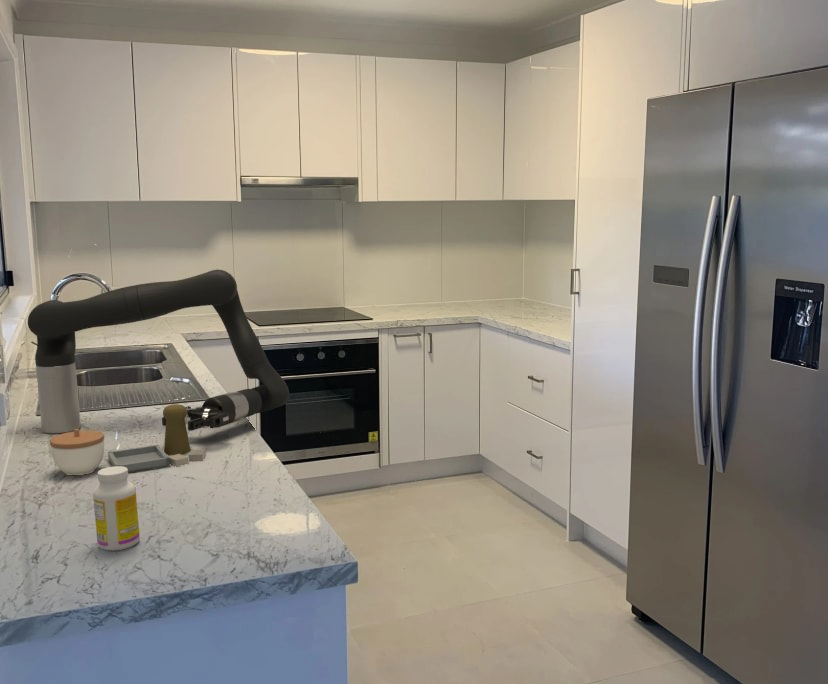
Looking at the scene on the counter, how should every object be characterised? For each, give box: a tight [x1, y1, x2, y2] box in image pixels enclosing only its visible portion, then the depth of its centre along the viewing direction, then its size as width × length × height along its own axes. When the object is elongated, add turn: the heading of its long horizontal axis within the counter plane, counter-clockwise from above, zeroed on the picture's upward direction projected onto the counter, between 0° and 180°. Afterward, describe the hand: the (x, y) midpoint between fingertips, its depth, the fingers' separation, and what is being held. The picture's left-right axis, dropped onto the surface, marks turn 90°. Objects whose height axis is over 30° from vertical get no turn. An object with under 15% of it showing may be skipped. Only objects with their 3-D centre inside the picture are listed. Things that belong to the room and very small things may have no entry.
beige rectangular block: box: [188, 448, 207, 462], centre depth 181 cm, size 4×3×2 cm
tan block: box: [167, 454, 190, 468], centre depth 178 cm, size 4×3×2 cm
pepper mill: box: [162, 403, 192, 456], centre depth 186 cm, size 6×6×11 cm
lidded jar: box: [49, 428, 105, 476], centre depth 172 cm, size 11×11×9 cm
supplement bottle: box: [92, 466, 141, 552], centre depth 134 cm, size 7×7×13 cm
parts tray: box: [107, 444, 171, 475], centre depth 178 cm, size 12×11×2 cm
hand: (175, 424), depth 186 cm, fingers open, 8 cm apart
